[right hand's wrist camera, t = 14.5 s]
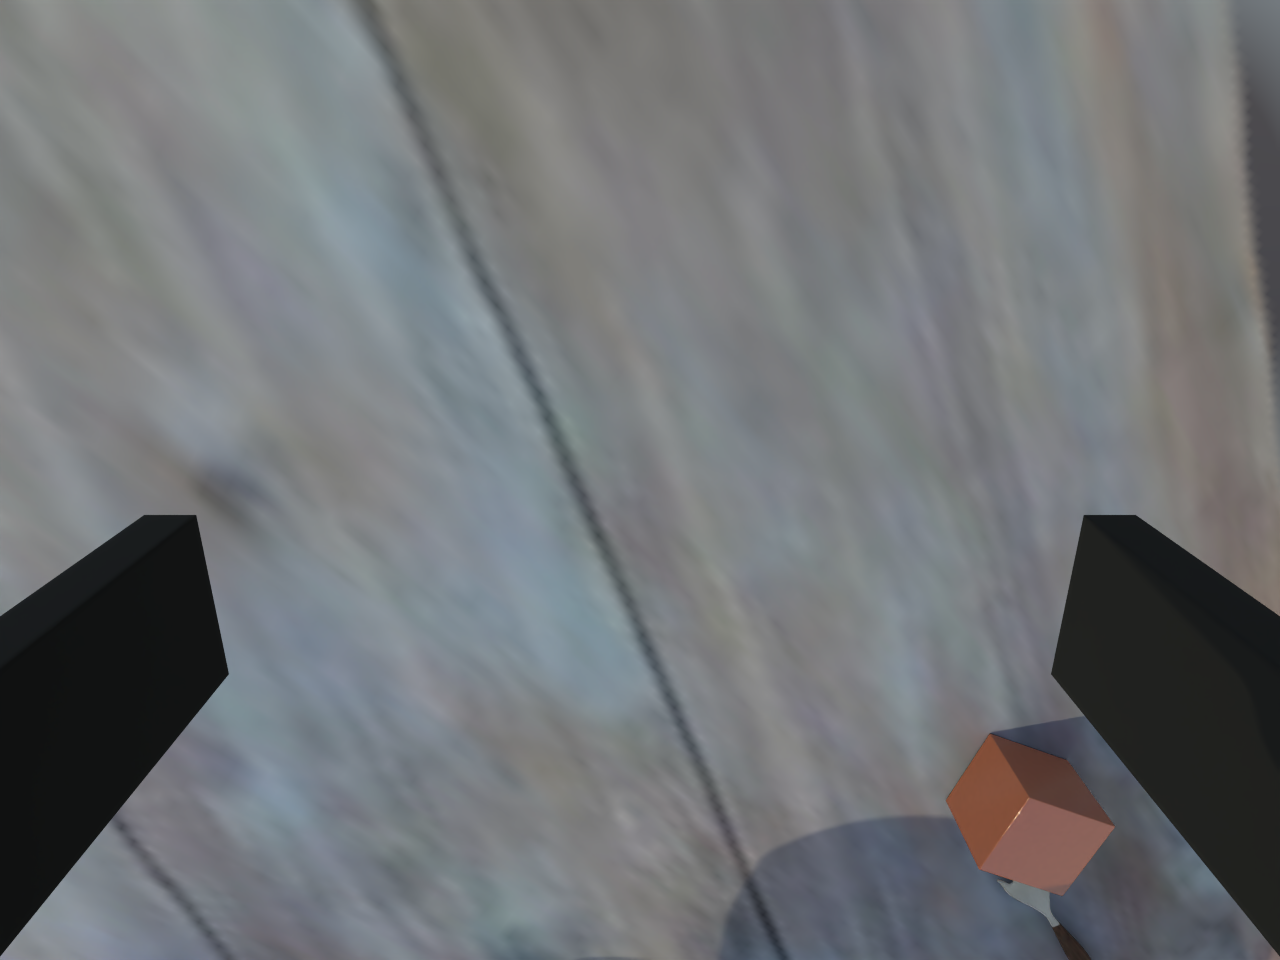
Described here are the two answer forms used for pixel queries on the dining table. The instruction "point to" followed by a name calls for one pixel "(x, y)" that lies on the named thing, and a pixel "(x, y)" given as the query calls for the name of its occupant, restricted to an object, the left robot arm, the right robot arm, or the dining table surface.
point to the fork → (1046, 915)
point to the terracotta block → (1027, 815)
